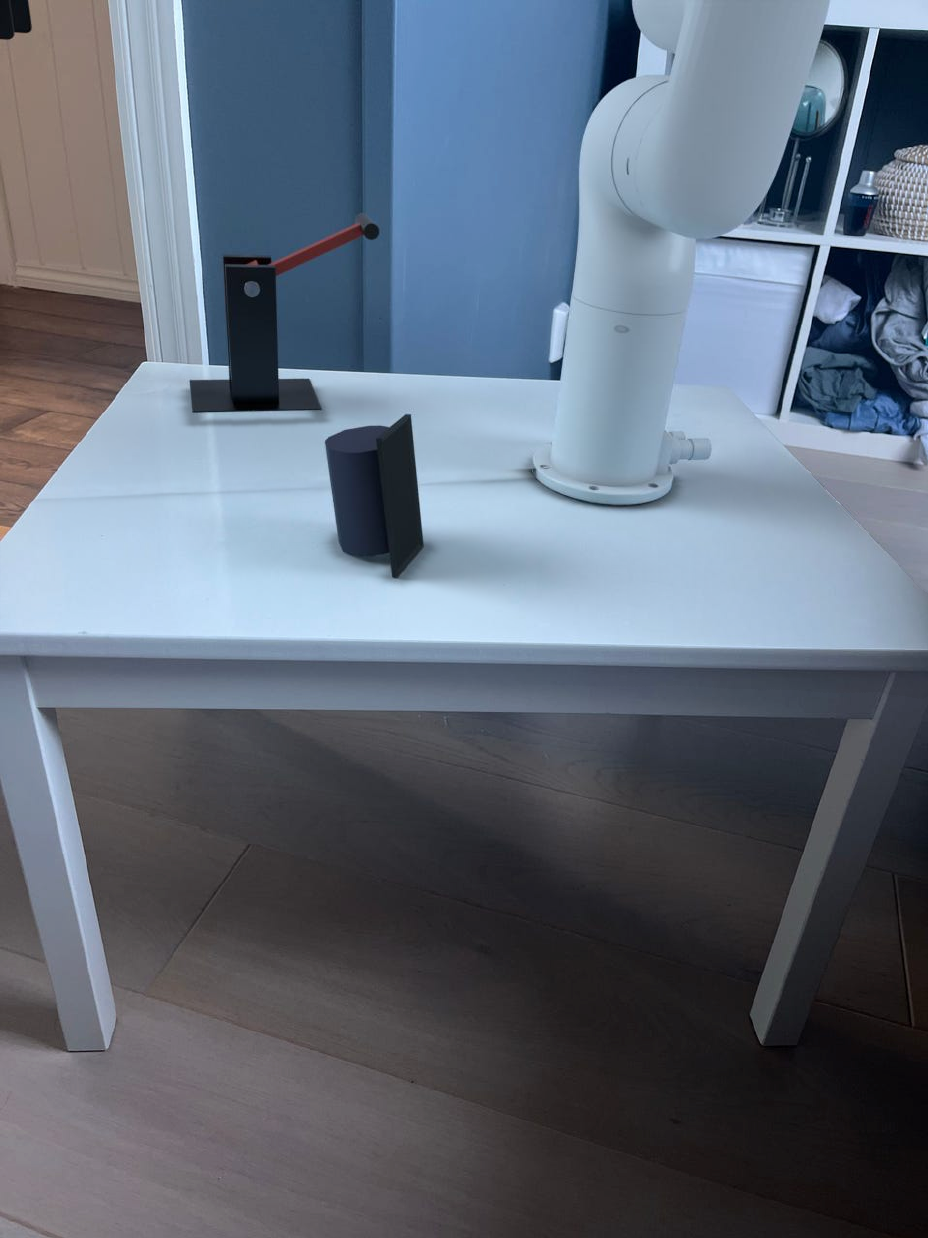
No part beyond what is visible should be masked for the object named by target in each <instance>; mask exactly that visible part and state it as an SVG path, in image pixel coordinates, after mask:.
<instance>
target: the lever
mask: <svg viewBox="0 0 928 1238" xmlns="http://www.w3.org/2000/svg"><path fill="white" fill-rule="evenodd" d="M379 236H380V228H379V226H378V225H377V224H376V223H375V222H374V220H373V219H372V218H371V217H370V216H369V215H368V214H366V213H364V212H360V213H358V214H357V215H356V216H355V218H354V223H353V224H352V225H350V226H348V227H346V228H344V229H341V230H339V231H337V232H335V233H332V234H331V235H328V236H326V237H324V238H322V239H320V240H318V241H316V242H314V243H311V244H309V245H307V246H305V247H303V248H301V249H299V250H296V251H294V252H292V253H290V254H287V255H286V256H283V257H282V258H279V259H277V260H275V261H273V262H271V264H268V265H275V268H276V277H278V276H280V275H282V274H284V273H286V272H289V271H290V270H293V269H295V268H297V267H299V266H301V265H303V264H306V263H308V262H310V261H312V260H314V259H316V258H319V257H321V256H323V255H325V254H327V253H329V252H332V251H334V250H335V249H336V250H337V249H338V248H340V247H342V246H344V245H346V244H348V243H350V242H353V241H355V240H357V239H359V238H361V237H365V238H366V239H367V240H368V241H369V240H370V241H374V240H376V239H377V238H378V237H379ZM246 265H258V262H257V260H255V261H252V262H250V263H248V264H246Z"/></svg>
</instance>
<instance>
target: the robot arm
mask: <svg viewBox="0 0 928 1238" xmlns="http://www.w3.org/2000/svg"><path fill="white" fill-rule="evenodd" d="M830 3H831V0H631V6H632V11H633V15H634V19H635V22H636V24H637V27H638V28H639V30H640V32H641V34H642V35H643V36H644V37H645V38H646V39H647V41H649V42H650V43H651V44H652V45H654V46H655V47H657V48H658V49H660V50H663V51H666V52H667V53H668V52H669V53H671V54H674V57H673V61H672V66H671V70H670V74H669V75H667V74H645V75H640V76H635V77H633V78H630V79H627V80H625V81H623V82H621V83H620V84H618V85H616V86H615V87H613V88H612V89H611V90H610V91H608V93H606V95H604V97H602V99H601V100H600V101H599V102H598V104H597V105H596V106H595V108H594V110H593V111H592V113H591V115H590V117H589V119H588V122H587V124H586V125H585V126H586V127H585V129H584V132H583V136H582V141H581V144H580V153H579V162H578V163H579V164H578V205H579V206H578V233H577V234H578V236H577V246H576V257H575V264H574V265H575V266H574V272H573V273H574V274H573V282H572V290H571V294H570V302H569V309H568V318H567V325H566V334H565V341H564V350H563V357H562V364H561V372H560V373H561V374H560V379H559V387H558V395H557V404H556V409H555V418H554V419H555V420H554V425H553V433H552V435H553V436H552V442H549V443H546V444H545V445H543V446H541V447H540V448H538V449H537V450H535V452H534V454H533V456H532V463H533V465H534V467H535V468H531V470H532V474H533V475H534V477H535V478H536V479H537V480H538V481H539V482H540V483H541V484H542V485H544V486H546V487H547V488H549V489H550V490H552V491H554V492H556V493H558V494H561V495H564V496H566V497H570V498H572V499H576V500H580V501H584V502H589V503H593V504H602V505H614V506H617V505H618V506H619V505H621V506H622V505H623V506H624V505H628V506H630V505H639V504H644V503H650V502H653V501H657V500H659V499H661V498H662V497H664V496H666V495H667V494H668V493H669V492H670V490H671V489H672V484H673V481H674V471H673V469H672V467H671V465H675V464H677V463H678V462H679V461H680V460H687V461H706V460H708V459H710V457H711V454H712V443H711V440H710V439H709V437H708V438H707V437H706V438H705V437H704V438H701V437H700V438H686V434H685V432H684V431H677V430H676V431H669V432H668V431H667V430H666V424H667V419H668V415H669V409H670V404H671V398H672V393H673V388H674V382H675V377H676V372H677V367H678V362H679V361H678V360H679V357H680V352H681V351H680V350H681V346H682V341H683V336H684V332H685V325H686V320H687V315H688V309H689V307H690V302H691V297H692V291H693V285H694V278H695V271H696V270H695V268H696V254H697V252H696V251H697V250H696V249H697V247H696V245H697V243H696V242H697V241H696V240H708V239H709V240H710V239H714V238H719V237H721V236H724V235H726V234H729V233H730V232H732V231H734V230H736V229H737V228H739V227H740V226H741V225H743V223H745V222H746V221H747V220H748V219H749V218H750V217H751V216H752V215H753V214H754V213H755V212H756V210H757V209H758V207H760V205H761V204H762V202H763V200H764V199H765V198H766V195H767V194H768V191H769V190H770V188H771V186H772V184H773V182H774V179H775V177H776V175H777V172H778V170H779V168H780V165H781V162H782V160H783V157H784V154H785V150H786V147H787V145H788V141H789V137H790V136H791V135H790V134H791V132H792V128H793V125H794V122H795V119H796V116H797V113H798V110H799V107H800V103H801V100H802V98H803V94H804V92H805V88H806V84H807V81H808V78H809V75H810V72H811V69H812V66H813V63H814V59H815V56H816V53H817V51H818V47H819V43H820V40H821V36H822V33H823V31H824V26H825V23H826V20H827V16H828V13H829V7H830ZM32 29H33V24H32V17H31V11H30V3H29V0H0V40H4V41H5V40H6V41H9V40H12V39H13V38H14V37H15V33H17V34H28V33H30V32H32Z"/></svg>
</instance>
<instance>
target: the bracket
mask: <svg viewBox="0 0 928 1238" xmlns="http://www.w3.org/2000/svg"><path fill="white" fill-rule="evenodd" d="M255 260H257V262H258V265H246V264H248V263H250V262H252V261H255ZM271 263H272V257H271V255H269V254H227V253H226V254H222V272H223V273H222V274H223V290H224V291H223V293H224V308H225V309H224V311H225V326H226V327H225V328H226V329H225V330H226V344H227V345H226V346H227V365H228V379H189V389H190V401H191V412H192V413H193V414H194V413H196V414H197V413H202V414H203V413H205V414H206V413H247V412H248V413H250V412H251V413H252V412H254V413H255V412H292V411H295V412H296V411H299V412H300V411H322V407H321V405H320V403H319V399H318V398H317V395H316V392H315V389H314V387H313V385H312V382H311V380H310V378H279V377H280V376H279V341H278V339H279V337H278V306H277V305H278V304H277V276H276V268H275V265H268V264H271Z"/></svg>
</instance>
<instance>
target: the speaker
mask: <svg viewBox="0 0 928 1238" xmlns="http://www.w3.org/2000/svg"><path fill="white" fill-rule="evenodd" d="M412 421H413V420H412V413H411V414H410V413H405V414H404V415H403V416H401V417H400V418H399V419H398V420H396V422H394V423H392V425H390V426H385V425H365V426H364V425H363V426H358V427H353V428H347V429H346V428H345V429H343V430H341V431H339V432H337V433H335V434H331V435H330V436H328V437H327V438H325V441H324V447H325V453H326V460H327V461H326V462H327V469H328V475H329V483H330V489H331V496H332V504H333V510H334V519H335V526H336V533H337V540H338V544H339V546H340V549H341V550H342V553H343V552H344V553H347V554H351V555H354V556H358V557H369V558H370V557H372V558H373V557H377V556H383V555H388V554H389V562H390V570H391V578H395V579H398V578H399V577H400V576H401V574H402V573H403V572H404V571H405V569H406V568H408V566H409V565H410V564H411V563H412V561H413V560H414V559H415V558H416V557H417V555H418V554H419V553H420V552H421V551H422V550H423V549H424V548H425V545H424V544H425V543H424V534H423V525H422V515H421V504H420V495H419V494H420V493H419V485H418V483H419V482H418V474H417V463H416V455H415V452H416V451H415V443H414V433H413V423H412Z"/></svg>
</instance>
